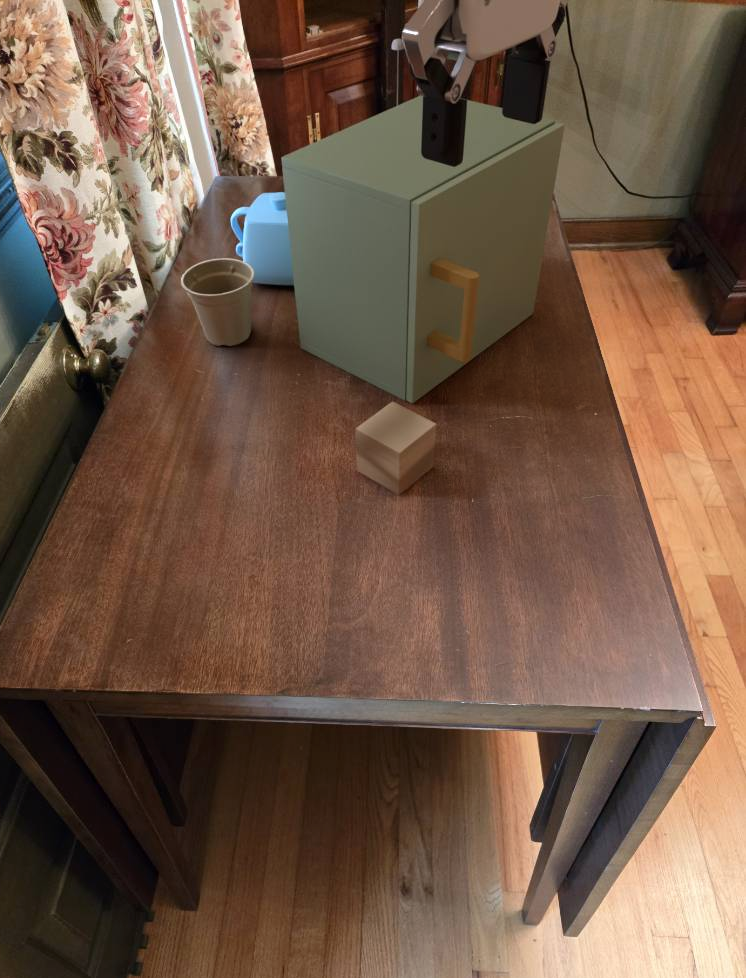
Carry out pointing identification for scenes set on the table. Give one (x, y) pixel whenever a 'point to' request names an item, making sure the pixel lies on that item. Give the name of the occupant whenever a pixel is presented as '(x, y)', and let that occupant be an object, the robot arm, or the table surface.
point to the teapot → (266, 239)
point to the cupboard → (371, 231)
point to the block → (395, 447)
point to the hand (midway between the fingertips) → (483, 139)
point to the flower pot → (221, 298)
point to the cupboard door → (477, 257)
